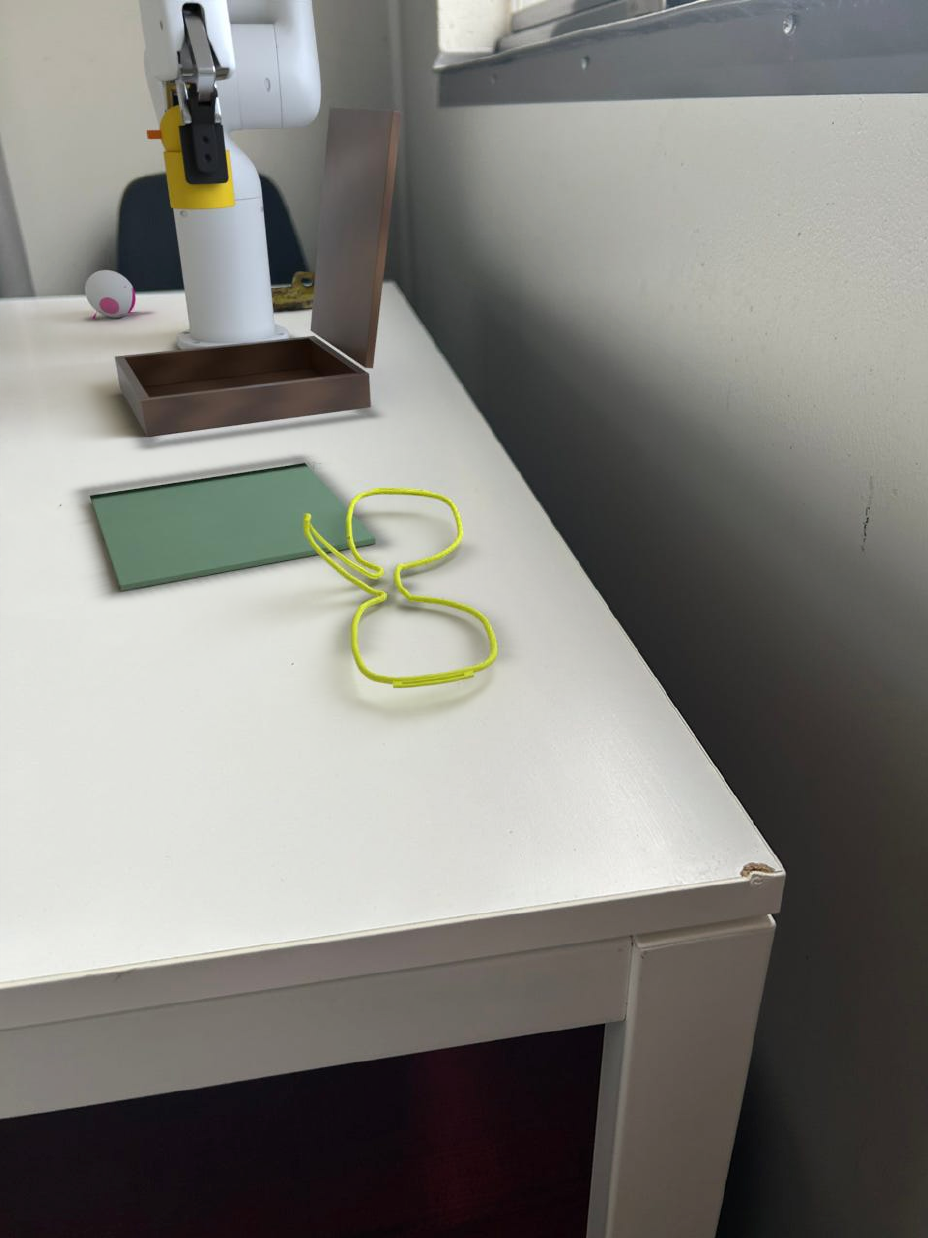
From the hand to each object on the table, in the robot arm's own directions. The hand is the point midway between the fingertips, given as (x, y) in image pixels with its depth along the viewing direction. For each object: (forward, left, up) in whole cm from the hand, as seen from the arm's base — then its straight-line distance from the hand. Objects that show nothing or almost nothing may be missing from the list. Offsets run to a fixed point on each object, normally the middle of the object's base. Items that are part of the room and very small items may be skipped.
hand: (199, 178), depth 78 cm
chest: (-5, +2, -20) cm, 21 cm away
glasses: (+37, +1, -20) cm, 42 cm away
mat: (+21, -5, -20) cm, 29 cm away
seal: (-50, +17, -20) cm, 57 cm away
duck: (0, 0, -2) cm, 2 cm away
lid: (-5, +13, -5) cm, 15 cm away
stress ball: (-52, -3, -20) cm, 56 cm away
